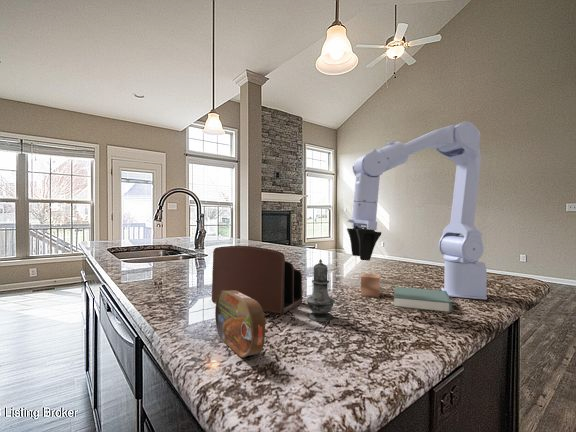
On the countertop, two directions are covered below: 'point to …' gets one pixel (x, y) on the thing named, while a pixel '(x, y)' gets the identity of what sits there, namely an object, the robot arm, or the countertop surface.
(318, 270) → the salt shaker
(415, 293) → the book
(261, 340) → the tin
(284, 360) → the countertop surface
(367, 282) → the block
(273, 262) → the letter holder
